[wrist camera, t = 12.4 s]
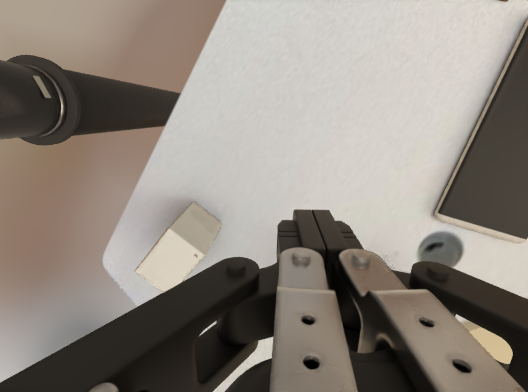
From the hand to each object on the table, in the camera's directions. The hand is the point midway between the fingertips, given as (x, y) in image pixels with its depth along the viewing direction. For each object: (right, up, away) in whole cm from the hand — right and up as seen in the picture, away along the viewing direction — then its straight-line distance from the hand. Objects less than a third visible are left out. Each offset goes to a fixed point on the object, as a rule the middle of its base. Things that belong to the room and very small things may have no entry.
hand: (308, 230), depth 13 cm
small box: (-13, -4, +33) cm, 36 cm away
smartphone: (+32, +9, +27) cm, 43 cm away
